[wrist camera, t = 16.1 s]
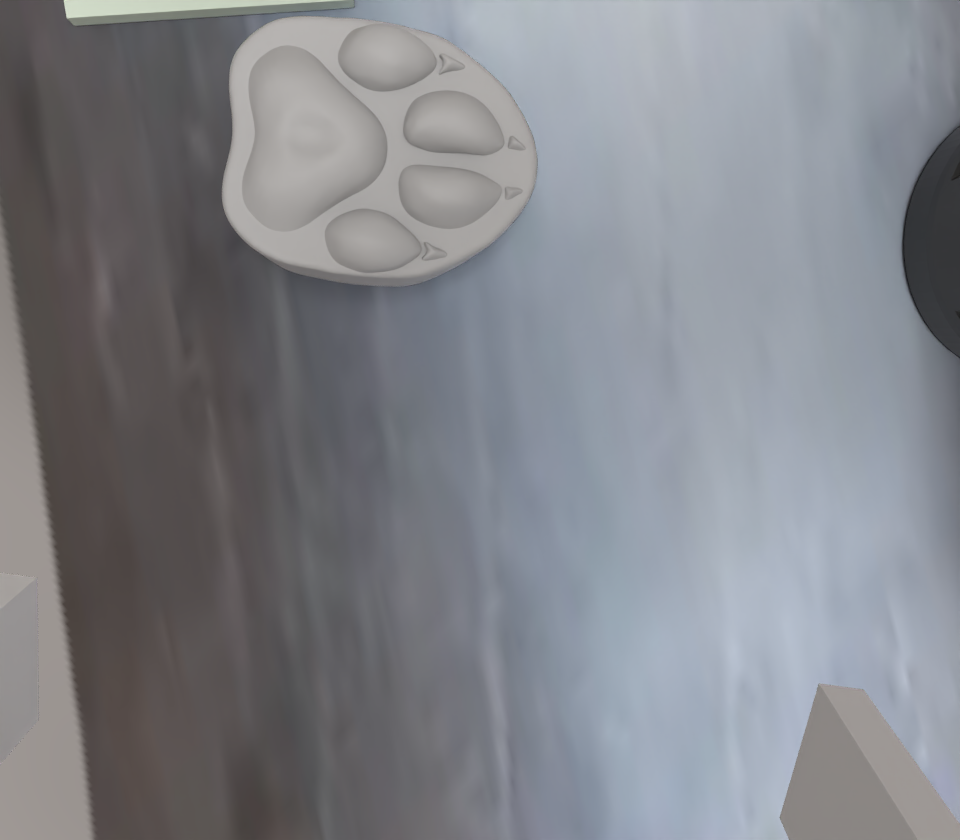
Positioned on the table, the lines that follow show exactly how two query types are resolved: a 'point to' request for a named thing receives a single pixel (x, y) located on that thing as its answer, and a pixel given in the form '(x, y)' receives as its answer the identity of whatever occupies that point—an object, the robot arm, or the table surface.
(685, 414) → the table surface
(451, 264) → the lumpy-topped squat cylinder
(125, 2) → the sage mat
